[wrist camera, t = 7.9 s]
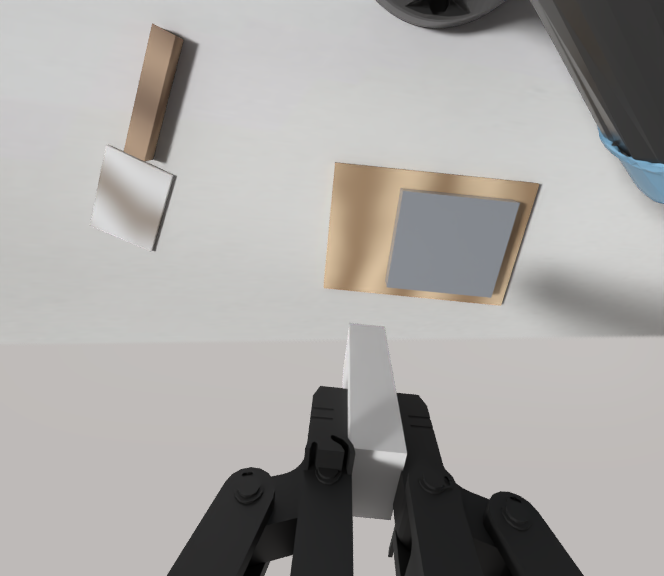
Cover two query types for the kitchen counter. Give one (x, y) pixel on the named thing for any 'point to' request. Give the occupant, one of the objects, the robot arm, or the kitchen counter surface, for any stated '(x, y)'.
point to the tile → (449, 242)
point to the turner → (140, 154)
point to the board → (379, 218)
